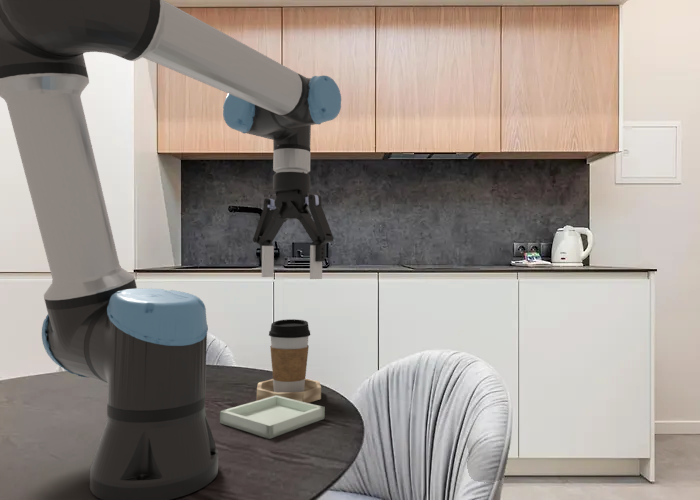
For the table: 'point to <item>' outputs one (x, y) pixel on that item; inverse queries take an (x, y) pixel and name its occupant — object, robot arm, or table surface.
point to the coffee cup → (289, 354)
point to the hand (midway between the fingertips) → (290, 278)
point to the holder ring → (307, 396)
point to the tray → (272, 416)
